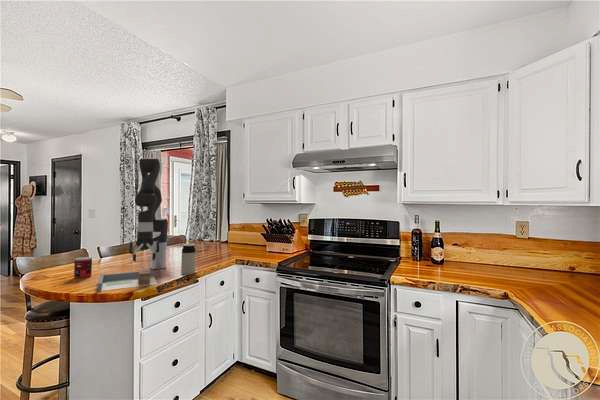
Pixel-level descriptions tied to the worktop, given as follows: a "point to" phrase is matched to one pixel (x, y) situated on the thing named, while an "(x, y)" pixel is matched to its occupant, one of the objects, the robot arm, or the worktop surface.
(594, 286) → the worktop surface
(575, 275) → the worktop surface
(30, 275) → the worktop surface
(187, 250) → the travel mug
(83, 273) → the canned food
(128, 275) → the tray
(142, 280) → the walnut block
